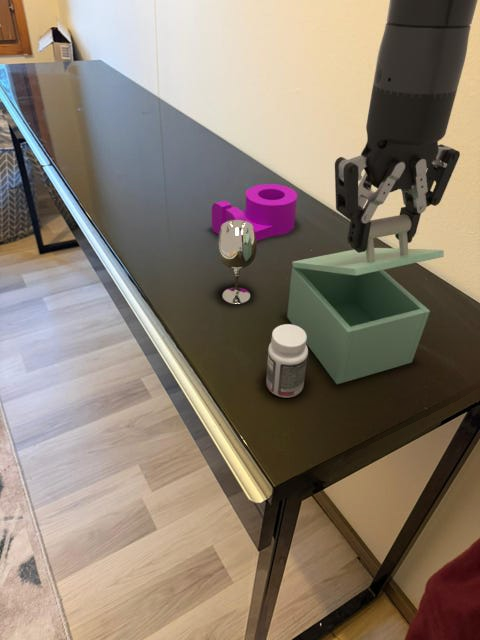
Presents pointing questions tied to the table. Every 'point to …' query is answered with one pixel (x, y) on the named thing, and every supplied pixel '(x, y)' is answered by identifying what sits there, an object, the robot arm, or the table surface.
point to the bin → (356, 321)
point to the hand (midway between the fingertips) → (380, 244)
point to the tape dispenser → (261, 211)
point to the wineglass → (236, 254)
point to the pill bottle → (287, 361)
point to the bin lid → (373, 252)
